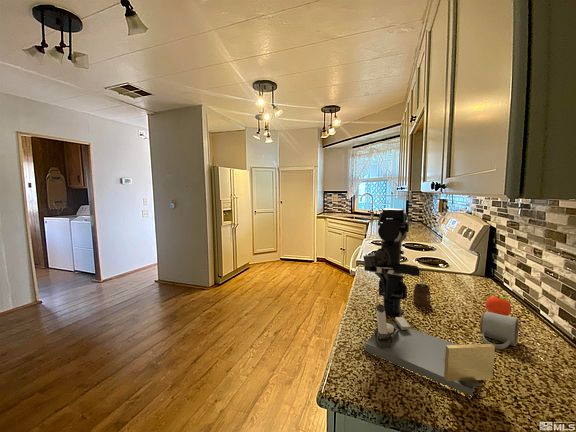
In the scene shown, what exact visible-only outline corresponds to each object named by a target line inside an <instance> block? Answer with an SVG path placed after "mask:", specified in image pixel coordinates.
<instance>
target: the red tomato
mask: <svg viewBox="0 0 576 432" xmlns="http://www.w3.org/2000/svg"><path fill="white" fill-rule="evenodd" d="M514 303H515V302H512V304H513V305H515V304H514ZM485 308H486V310H487V312H491V313H496V314H500V315H505V316H509V315H510V314H511V312H512V305H511V303H510V301H509V298H508V297H504V296H500V295H492V296H489V297H488V298H487V300H486V301H485Z"/></svg>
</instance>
